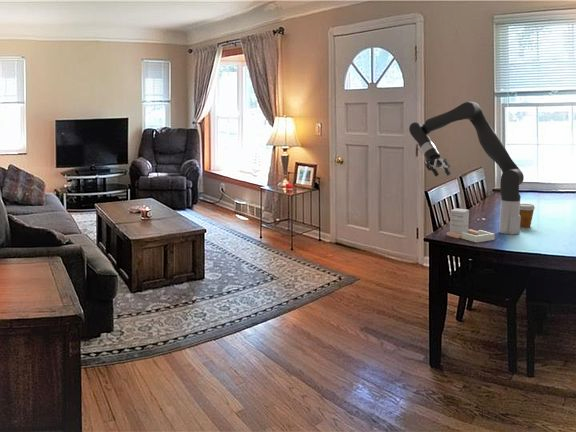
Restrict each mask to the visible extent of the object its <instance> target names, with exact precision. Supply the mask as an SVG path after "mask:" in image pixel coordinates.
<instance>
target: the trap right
mask: <svg viewBox="0 0 576 432" xmlns="http://www.w3.org/2000/svg"><path fill="white" fill-rule="evenodd" d="M468 234H472V235H475V236H478V230H475V229H471V228H470V229H469V228H468Z"/></svg>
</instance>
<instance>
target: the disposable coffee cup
mask: <svg viewBox="0 0 576 432" xmlns="http://www.w3.org/2000/svg"><path fill="white" fill-rule="evenodd" d="M535 208H536V207H535V205H534V204H531V203H520V212H519V215H520V216H521V221H520V228H524V229H525V228H527V229H528V228H531V226H532V225H531V224H532V221H533V215H534V210H535Z"/></svg>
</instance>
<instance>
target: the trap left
mask: <svg viewBox="0 0 576 432" xmlns="http://www.w3.org/2000/svg"><path fill="white" fill-rule="evenodd" d="M446 236H447V237H451V238H455V239H463V238H462V235H461V234H458V233H454V232H450V231H448V232H446Z"/></svg>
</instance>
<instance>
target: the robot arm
mask: <svg viewBox="0 0 576 432" xmlns="http://www.w3.org/2000/svg"><path fill="white" fill-rule="evenodd" d="M462 120H469V122H470V123H471V124H472V126H473V127H474V129H475V131H476V135H477V138H478V142H479V143H480V146H481V147H482V150H484V152H485V154H486V155H487V156H488V157H489V158H490V159H491V160H492V161H493V162H494V163H495V164H497V166H498V167H499V168H500V171H502V173H501V177H500V189H499V191H500V192H499V193H500V212H499V226H498V228H499V229H498V230H499V231H498V232H499V233H501V234H503V235H509V236H510V235H511V236H512V235H518V234H520V233H521V227H520V221H521V216H520V215H519V212H520V204H521V194H520V185H522V184H523V183H524V174H523V171H521V169H520V168H519V166H518V165H517V164H516V163H515V161H514V160H513V159H512V158H511V156H510V154H509V153H508V150H507V149H506V148H505V146H504V144H503V142H502V141H501V139H500V138H499V136H498V135H497V133H496V132H495V130H494V129H493V127H492V125H490V123H489V122H488V119H487V118H486V116H485V114H484V112H483V110H482V108H481V106H480V105H479V104H478V103H477V102H476V101H465V102H463V103H461V104H459V105H458V106H456V107H455V108H453V109H451V110H449V111H447V112H443V113H442V114H438V115H436V116H435V115H434V116H433V117H430V118H428V119H426V120H425V122H424V124H421V123H419V122H417V121H416V122H412V123H411V124H410V125H409V128H408V131H409V133H410V135H411V136H412V138H413V139H414V141H416V143H417V144H418V145H419V148H420V149H421V152H422V154H423V156H424V157H425V161H424V165H425V167H426V169H427V170H428V171H429V172H430V171H431V172H432V173H433V175H434V176H435V177H438V176H439V174H440V173H439V172H438V169H436V168H440V169H443V171H444V172H445V173H444V174H446V176H447V177H448V176H450V175H451V171H450V170H449V169H450V167H451V165H450V163H449V161H448V159H447V158H443V159H442V158H441V154H440V152H439V151H438V149H437V147H436V145H435V144H434V143H433V141H432V140H431V138H430V136H429V134H430V133H431V132H433V131H436V130H438V129H443V128H444V127H445V126H447V125H449V124H451V123H455V122H457V121H462Z"/></svg>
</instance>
